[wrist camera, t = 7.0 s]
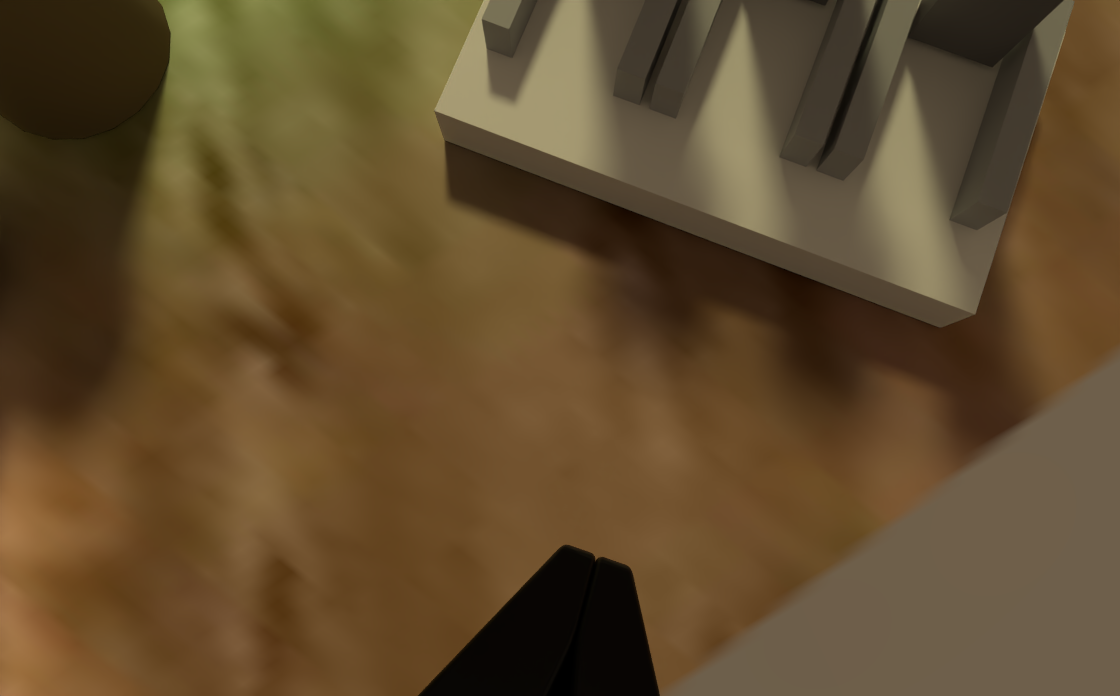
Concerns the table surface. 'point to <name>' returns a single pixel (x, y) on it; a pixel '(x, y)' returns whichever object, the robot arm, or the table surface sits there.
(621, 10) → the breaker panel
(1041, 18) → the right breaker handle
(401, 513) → the table surface
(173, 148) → the table surface
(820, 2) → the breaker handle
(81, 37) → the olive pepper mill
